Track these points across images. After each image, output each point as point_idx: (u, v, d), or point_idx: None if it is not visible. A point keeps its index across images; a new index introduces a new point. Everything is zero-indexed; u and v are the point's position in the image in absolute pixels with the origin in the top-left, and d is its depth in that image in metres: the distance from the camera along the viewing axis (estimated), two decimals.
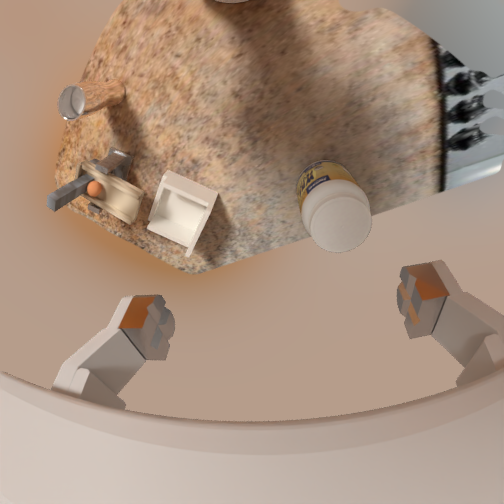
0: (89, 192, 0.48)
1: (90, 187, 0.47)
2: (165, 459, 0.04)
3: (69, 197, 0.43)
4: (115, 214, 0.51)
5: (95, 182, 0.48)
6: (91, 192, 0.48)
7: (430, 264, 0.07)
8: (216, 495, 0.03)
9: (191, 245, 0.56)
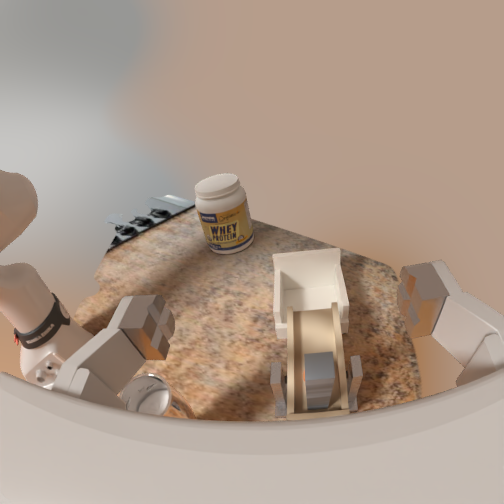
0: None
1: None
2: (165, 459, 0.04)
3: None
4: (337, 327, 0.34)
5: (303, 375, 0.30)
6: None
7: (430, 264, 0.07)
8: (216, 495, 0.03)
9: (322, 251, 0.48)
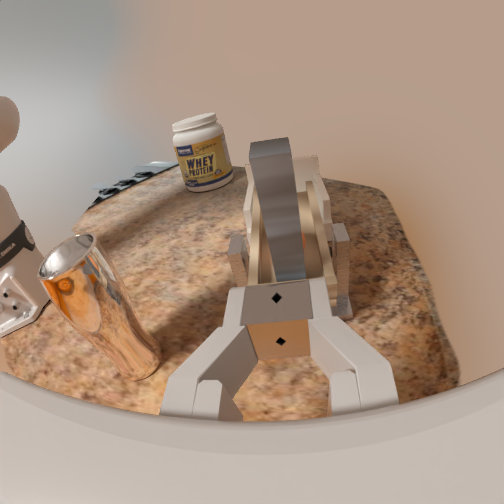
0: None
1: None
2: (165, 459, 0.04)
3: None
4: (313, 199, 0.29)
5: None
6: None
7: (306, 281, 0.08)
8: (217, 496, 0.03)
9: (298, 158, 0.43)
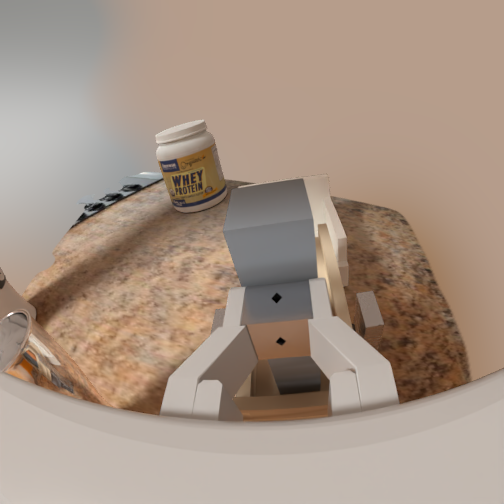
0: None
1: None
2: (165, 459, 0.04)
3: None
4: (329, 252, 0.21)
5: None
6: None
7: (306, 282, 0.08)
8: (217, 496, 0.03)
9: (304, 178, 0.35)
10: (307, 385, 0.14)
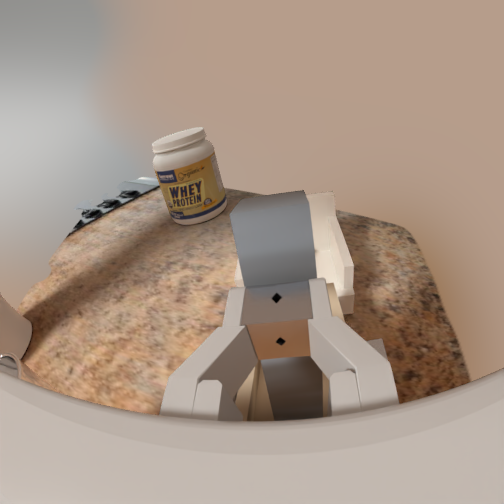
0: None
1: None
2: (165, 459, 0.04)
3: None
4: (335, 306, 0.21)
5: None
6: None
7: (306, 282, 0.08)
8: (217, 495, 0.03)
9: (308, 196, 0.33)
10: None
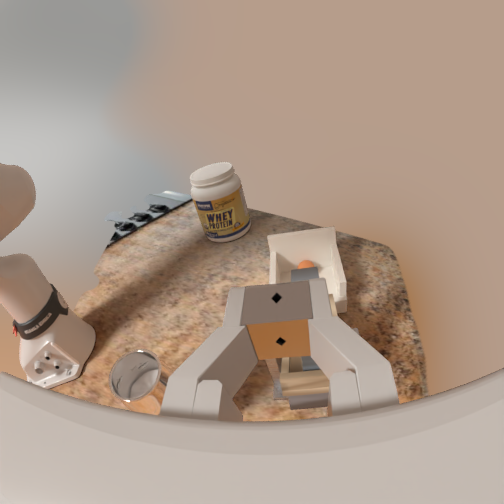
0: None
1: None
2: (165, 459, 0.04)
3: None
4: (333, 309, 0.36)
5: None
6: None
7: (306, 282, 0.08)
8: (216, 495, 0.03)
9: (317, 230, 0.48)
10: (318, 369, 0.27)
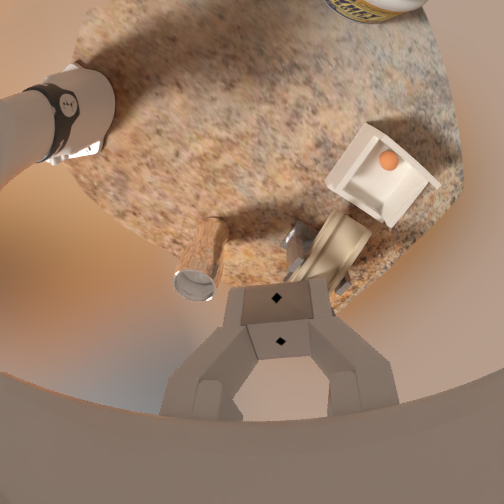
0: (396, 155, 0.37)
1: (391, 152, 0.37)
2: (165, 459, 0.04)
3: None
4: (357, 252, 0.42)
5: (382, 154, 0.38)
6: (394, 153, 0.37)
7: (306, 282, 0.08)
8: (216, 495, 0.03)
9: (425, 175, 0.32)
10: None
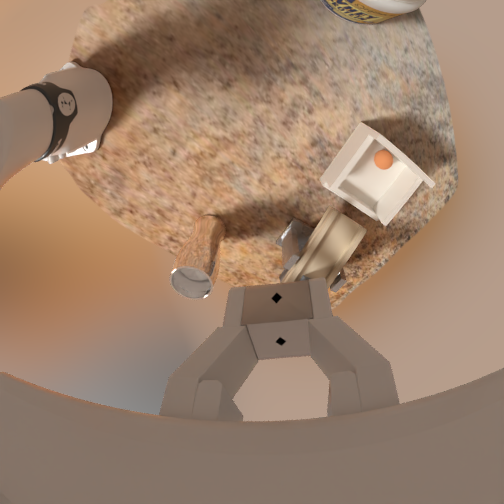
0: (390, 154, 0.38)
1: (386, 152, 0.37)
2: (165, 459, 0.04)
3: None
4: (352, 249, 0.43)
5: (377, 153, 0.38)
6: None
7: (306, 282, 0.08)
8: (217, 495, 0.03)
9: (420, 174, 0.33)
10: None
